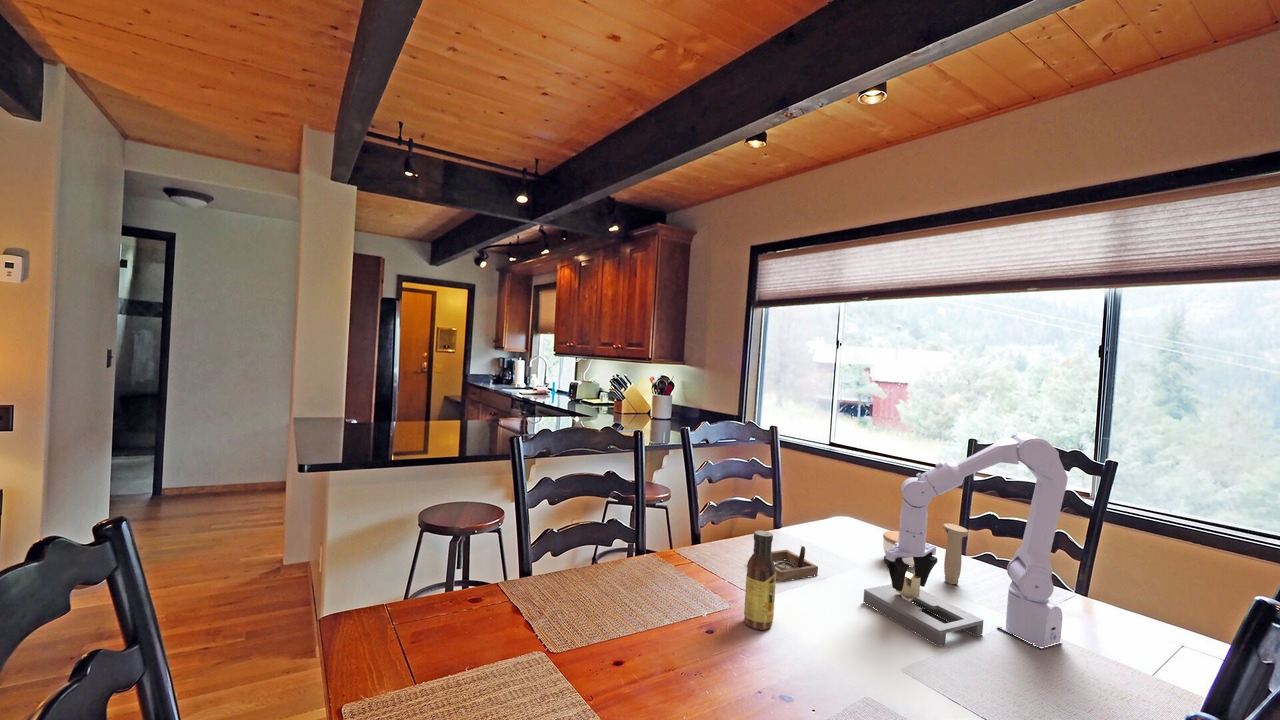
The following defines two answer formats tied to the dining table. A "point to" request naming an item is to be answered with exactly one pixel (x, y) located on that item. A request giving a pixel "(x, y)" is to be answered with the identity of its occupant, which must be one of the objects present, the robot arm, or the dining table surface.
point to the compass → (789, 565)
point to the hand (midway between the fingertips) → (908, 587)
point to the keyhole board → (918, 621)
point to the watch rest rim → (794, 573)
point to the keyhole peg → (910, 587)
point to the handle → (953, 552)
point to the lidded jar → (890, 541)
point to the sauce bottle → (760, 583)
